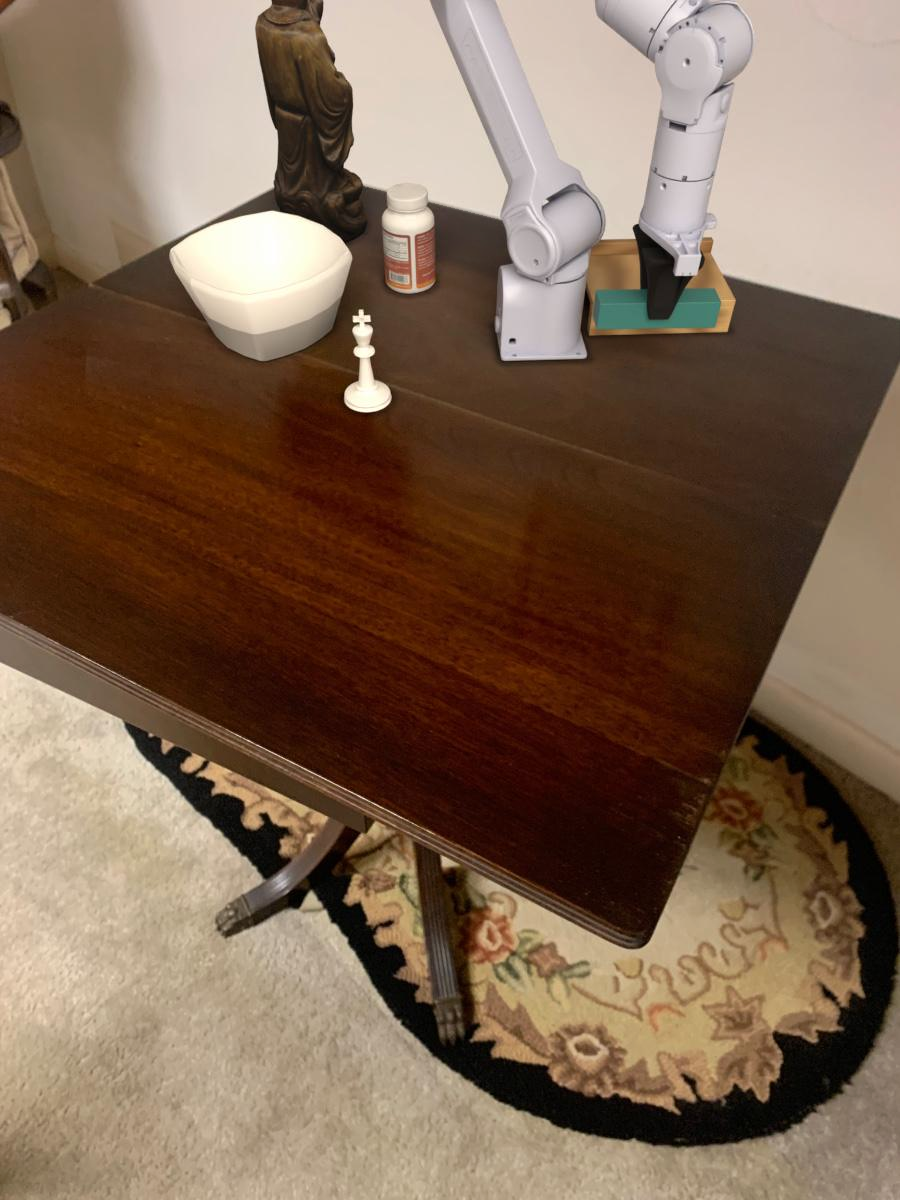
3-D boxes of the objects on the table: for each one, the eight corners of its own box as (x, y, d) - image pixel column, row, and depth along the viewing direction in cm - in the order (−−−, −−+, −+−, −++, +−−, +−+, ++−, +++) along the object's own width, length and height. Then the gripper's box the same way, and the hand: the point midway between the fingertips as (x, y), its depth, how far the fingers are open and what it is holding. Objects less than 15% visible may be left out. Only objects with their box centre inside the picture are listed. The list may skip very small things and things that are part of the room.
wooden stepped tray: (588, 335, 101) (595, 290, 96) (573, 283, 109) (578, 239, 104) (727, 332, 101) (739, 287, 97) (701, 280, 109) (711, 236, 105)
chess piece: (344, 386, 94) (335, 298, 86) (390, 383, 94) (385, 296, 87) (344, 413, 90) (335, 325, 83) (392, 411, 91) (387, 323, 83)
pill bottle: (430, 268, 111) (428, 177, 103) (440, 292, 107) (439, 200, 99) (381, 273, 110) (375, 182, 102) (389, 298, 106) (385, 205, 98)
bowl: (382, 330, 101) (377, 251, 94) (255, 393, 93) (240, 311, 86) (286, 275, 110) (276, 199, 103) (162, 328, 101) (141, 249, 94)
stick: (596, 329, 88) (600, 303, 86) (592, 315, 90) (595, 289, 88) (715, 328, 89) (721, 302, 87) (708, 313, 91) (714, 287, 88)
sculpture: (387, 233, 119) (391, -38, 98) (321, 260, 112) (310, -26, 91) (319, 207, 124) (310, -56, 103) (252, 231, 117) (227, -47, 96)
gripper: (749, 204, 74) (712, 348, 84) (708, 136, 83) (679, 272, 93) (665, 205, 73) (638, 349, 83) (633, 136, 83) (612, 273, 93)
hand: (655, 309), depth 88 cm, fingers closed on stick, 3 cm apart
